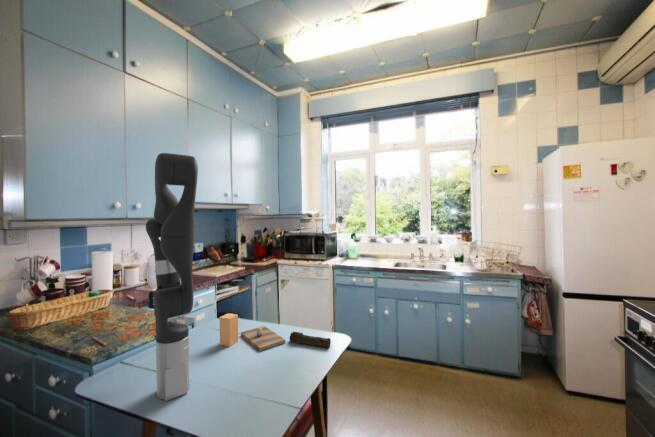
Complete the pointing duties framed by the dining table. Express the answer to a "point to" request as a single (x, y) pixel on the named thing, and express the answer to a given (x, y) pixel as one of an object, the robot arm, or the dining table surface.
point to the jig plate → (262, 338)
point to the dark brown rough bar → (309, 340)
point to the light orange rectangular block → (228, 329)
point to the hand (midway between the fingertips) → (171, 314)
